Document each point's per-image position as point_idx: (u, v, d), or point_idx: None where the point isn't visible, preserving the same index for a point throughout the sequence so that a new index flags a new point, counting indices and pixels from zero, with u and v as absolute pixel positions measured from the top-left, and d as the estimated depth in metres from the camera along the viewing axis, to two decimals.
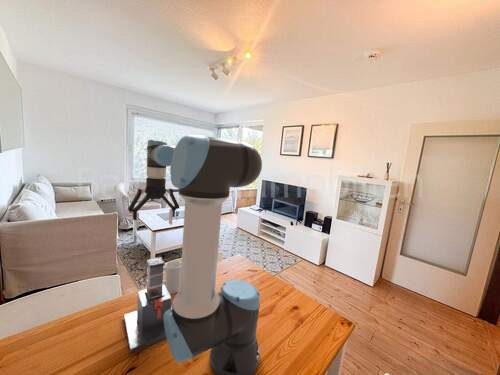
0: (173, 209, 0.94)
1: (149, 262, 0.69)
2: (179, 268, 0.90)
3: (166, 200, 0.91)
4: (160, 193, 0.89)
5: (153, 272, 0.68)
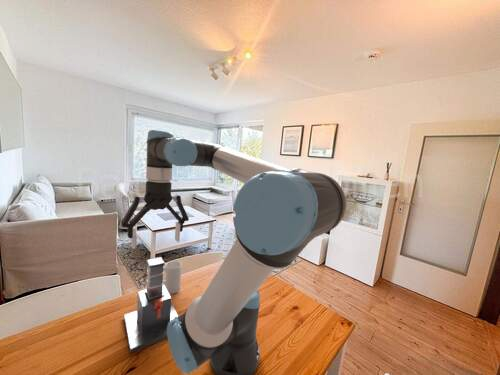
0: (181, 222, 0.72)
1: (149, 262, 0.69)
2: (179, 268, 0.90)
3: (172, 210, 0.69)
4: (164, 202, 0.67)
5: (153, 272, 0.68)
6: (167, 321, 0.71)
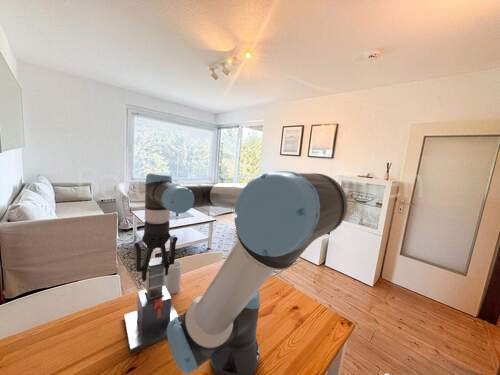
0: (166, 266, 0.71)
1: (149, 262, 0.69)
2: (179, 268, 0.90)
3: (164, 252, 0.70)
4: (162, 241, 0.68)
5: (153, 272, 0.68)
6: (167, 321, 0.71)
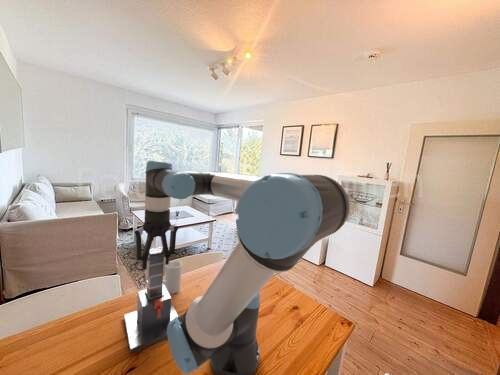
0: (166, 255, 0.71)
1: (150, 251, 0.68)
2: (179, 268, 0.90)
3: (164, 241, 0.70)
4: (162, 229, 0.68)
5: (154, 261, 0.68)
6: (167, 321, 0.71)
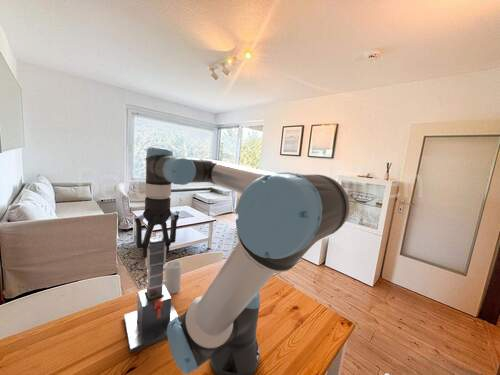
0: (167, 244, 0.70)
1: (150, 239, 0.68)
2: (179, 268, 0.90)
3: (165, 229, 0.69)
4: (163, 217, 0.67)
5: (154, 249, 0.67)
6: (167, 321, 0.71)
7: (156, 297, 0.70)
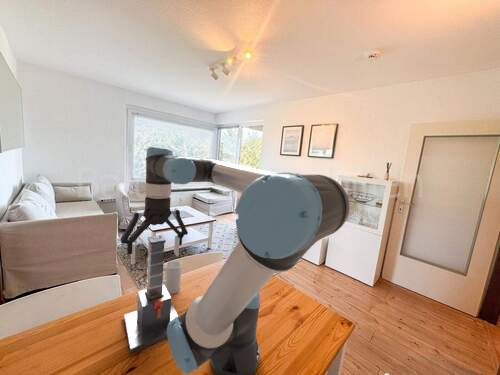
0: (180, 236, 0.72)
1: (150, 239, 0.68)
2: (179, 268, 0.90)
3: (171, 225, 0.70)
4: (163, 217, 0.67)
5: (154, 249, 0.67)
6: (167, 321, 0.71)
7: (156, 297, 0.70)
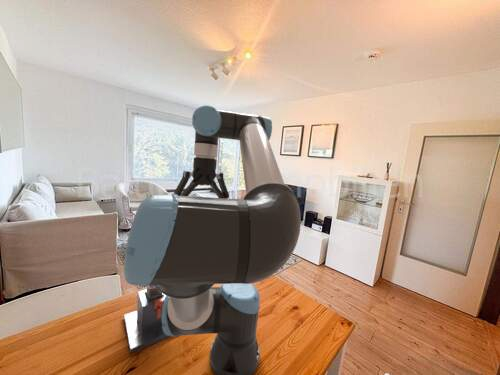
0: None
1: None
2: None
3: (216, 187, 0.73)
4: (210, 178, 0.70)
5: None
6: None
7: (156, 297, 0.70)
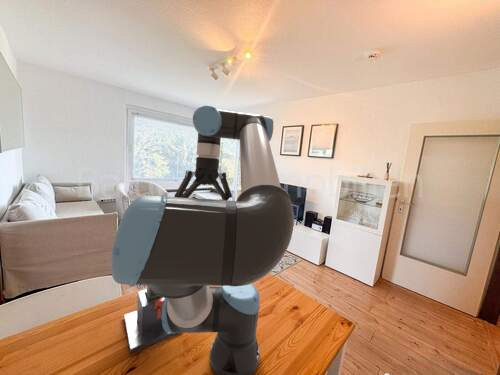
0: (225, 198, 0.75)
1: None
2: None
3: (218, 187, 0.73)
4: (213, 177, 0.70)
5: None
6: None
7: (156, 297, 0.70)
